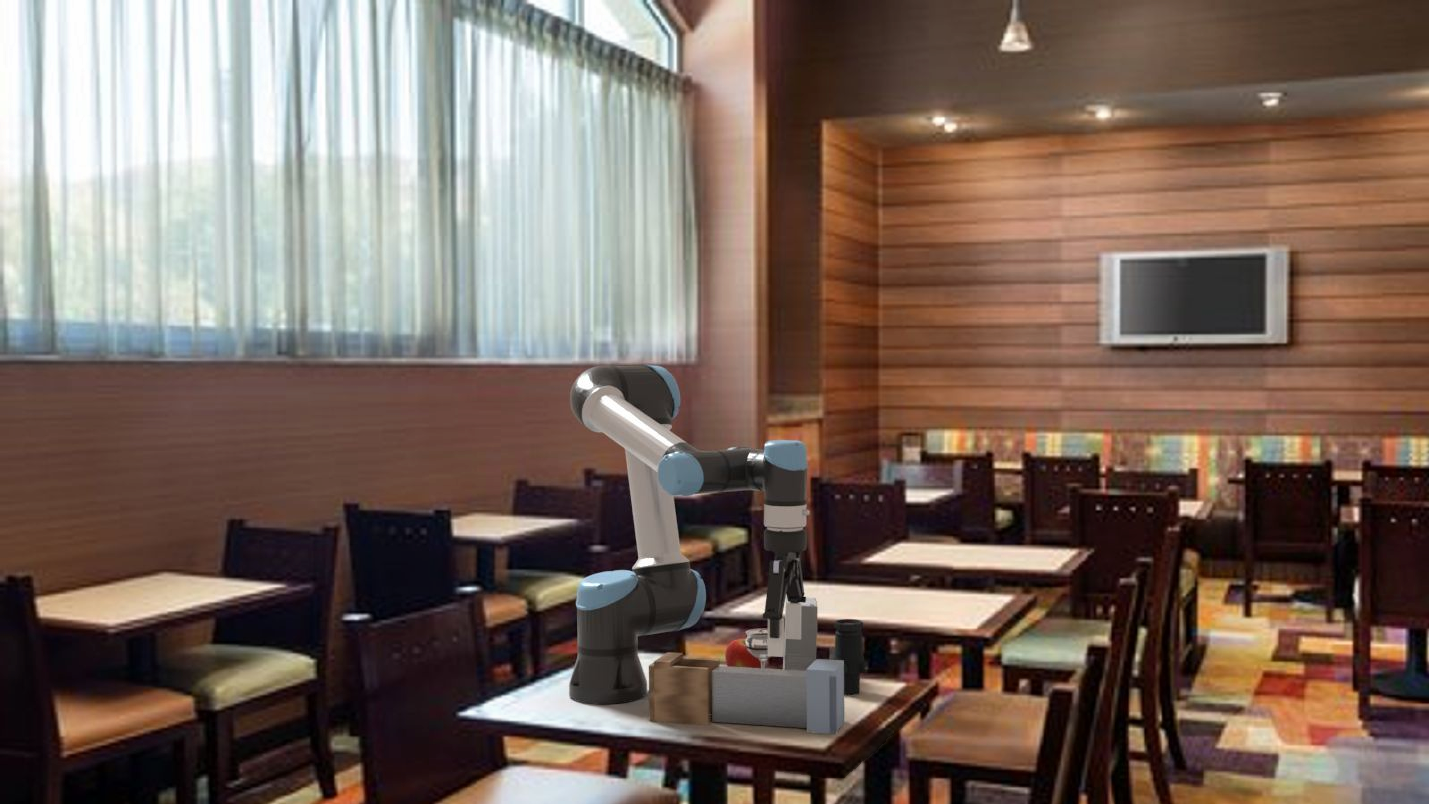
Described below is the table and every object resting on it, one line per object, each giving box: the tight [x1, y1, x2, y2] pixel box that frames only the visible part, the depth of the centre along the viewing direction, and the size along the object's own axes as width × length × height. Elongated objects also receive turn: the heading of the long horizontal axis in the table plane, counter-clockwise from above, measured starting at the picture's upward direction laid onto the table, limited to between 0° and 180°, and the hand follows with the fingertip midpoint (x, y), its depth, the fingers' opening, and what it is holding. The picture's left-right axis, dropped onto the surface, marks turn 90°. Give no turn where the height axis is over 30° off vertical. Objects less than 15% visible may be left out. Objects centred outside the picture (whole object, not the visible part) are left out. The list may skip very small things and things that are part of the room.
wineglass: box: [745, 628, 772, 669], centre depth 256 cm, size 7×7×12 cm
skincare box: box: [782, 596, 818, 671], centre depth 269 cm, size 8×7×16 cm
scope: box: [825, 618, 870, 696], centre depth 256 cm, size 8×14×10 cm
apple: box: [724, 634, 761, 668], centre depth 266 cm, size 8×8×10 cm
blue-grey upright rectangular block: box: [806, 658, 845, 735], centre depth 232 cm, size 5×8×11 cm, turn 164°
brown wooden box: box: [648, 651, 721, 726], centre depth 239 cm, size 11×8×11 cm
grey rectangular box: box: [711, 665, 807, 729], centre depth 235 cm, size 21×5×9 cm, turn 74°
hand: (784, 647), depth 234 cm, fingers open, 13 cm apart
